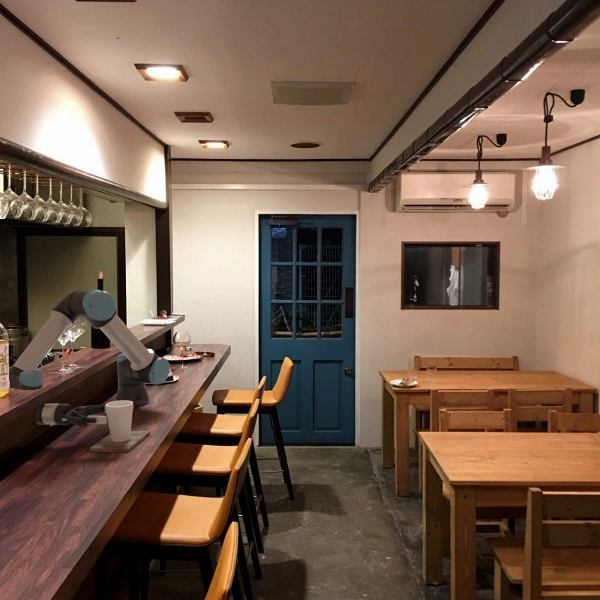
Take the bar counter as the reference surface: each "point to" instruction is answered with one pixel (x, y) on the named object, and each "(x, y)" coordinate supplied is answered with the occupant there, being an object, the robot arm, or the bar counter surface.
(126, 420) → the foam cup
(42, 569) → the bar counter surface
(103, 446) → the walnut board
